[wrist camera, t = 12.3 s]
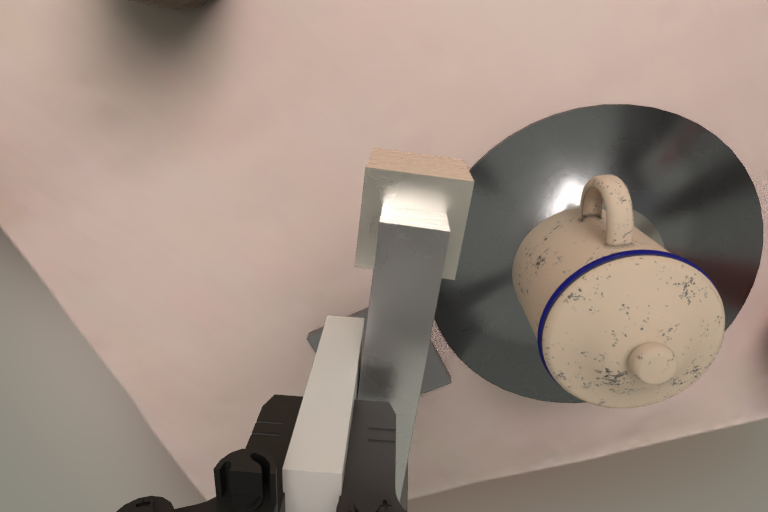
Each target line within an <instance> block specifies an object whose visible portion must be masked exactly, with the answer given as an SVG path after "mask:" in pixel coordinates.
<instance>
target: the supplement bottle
mask: <svg viewBox="0 0 768 512" xmlns="http://www.w3.org/2000/svg"><path fill="white" fill-rule="evenodd" d="M130 1H134V2H139V3H144V4H149V5H153V6H158V7H163V8H169V9H191V8H195V7H197V6H200V5H202V4H204V3H206V2H207V1H208V0H130Z"/></svg>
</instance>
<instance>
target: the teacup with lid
mask: <svg viewBox="0 0 768 512" xmlns="http://www.w3.org/2000/svg"><path fill="white" fill-rule="evenodd" d="M603 201H604V205H605V210H604V209H602V207H603ZM512 278H513V285H514V289H515V292H516V294H517V296H518V299H519V301H520V303H521V305H522V307H523V310H524V312H525V314H526V316H527V318H528V321H529V323H530V325H531V327H532V329H533V332H534V334H535V336H536V338H537V342H538V349H539V354H540V357H541V360H542V363H543V365H544V367H545V369H546V370H547V372H548V373H549V375H550V376H551V377H552V378H553V380H554V381H555V382H556V383H557V384H558V385H560V386H561V387H562V388H563V389H565V390H566V391H567V392H569V393H570V394H572V395H573V396H575V397H577V398H579V399H581V400H583V401H586V402H589V403H592V404H595V405H598V406H604V407H610V408H633V407H640V406H645V405H650V404H653V403H656V402H659V401H662V400H665V399H667V398H669V397H671V396H673V395H675V394H677V393H679V392H681V391H682V390H684V389H685V388H687V387H688V386H689V385H691V384H692V383H693V382H694V381H696V380H697V379H698V378H699V377H700V376H701V375H702V374H703V373H704V372H705V371H706V369H707V368H708V367H709V366H710V364H711V363H712V361H713V360H714V358H715V356H716V355H717V353H718V350H719V348H720V346H721V343H722V340H723V335H724V329H725V313H724V307H723V303H722V300H721V298H720V295H719V293H718V291H717V288H716V286H715V285H714V283H713V282H712V280H711V279H710V278H709V277H708V275H707V274H706V273H705V272H704V271H703V270H702V269H700V268H699V267H698V266H696V265H695V264H694V263H692V262H690V261H689V260H687V259H685V258H682V257H680V256H678V255H675V254H672V253H670V252H668V251H667V250H666V249H664V248H663V247H662V246H660V245H659V244H658V243H656V242H655V241H654V240H652V239H651V238H649V237H648V236H647V235H645V234H644V233H643V232H641V231H640V230H639V229H637V228H636V227H635V226H633V207H632V202H631V198H630V194H629V191H628V189H627V187H626V185H625V184H624V182H623V181H622V180H621V179H620V178H618V177H617V176H614V175H599V176H595V177H593V178H591V179H590V180H589V181H588V182H587V183H586V185H585V186H584V188H583V191H582V195H581V200H580V208H574V209H569V210H565V211H562V212H559V213H557V214H554V215H552V216H550V217H548V218H547V219H545V220H543V221H542V222H541V223H539V224H538V225H537V226H535V227H534V228H533V229H532V230H531V231H530V232H529V233H528V235H527V236H526V237H525V238H524V240H523V241H522V243H521V244H520V246H519V248H518V250H517V252H516V255H515V258H514V262H513V269H512Z"/></svg>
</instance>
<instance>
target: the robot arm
mask: <svg viewBox="0 0 768 512" xmlns="http://www.w3.org/2000/svg"><path fill="white" fill-rule="evenodd" d="M363 335H364V318H358V317H345V316H331V315H327V318H326V322H325V325H324V328H323V332H322V335H321V339H320V342H319V346H318V349H317V352H316V356H315V359H314V363H313V366H312V369H311V373H310V376H309V380H308V383H307V386H306V390H305V393H304V397H300V396H286V395H274V396H273V397H272V398H271V399H270V400H269V401H268V402H267V403H266V404H264V405H263V407H262V409H261V412H260V414H259V416H258V419H257V423H256V424H255V426H254V429H253V431H252V435H251V436H250V439H249V441H248V444H247V446H246V449H240V450H237V451H235V452H232V453H230V454H228V455H227V456H225V457H224V458H223V459H221V460H220V461H219V463H218V464H217V465H216V467H215V468H214V477H215V487H216V497H215V498H213V499H211V500H209V501H207V502H203V503H200V504H197V505H192V506H187V507H183V508H178V509H174V508H173V506H172V504H171V502H169V501H168V500H166V499H165V498H163V497H155V496H148V497H143V498H138V499H136V500H134V501H132V502H130V503H128V504H125V505H124V506H123V507H122V508H120V509H119V510H118V511H117V512H407V511H406V510H405V509H404V508H403V507H402V505H401V504H400V503H399V501H398V498H397V496H396V490H395V470H396V414H395V412H394V410H393V408H392V406H391V404H390V402H383V401H369V400H357V398H358V390H359V382H360V374H361V366H362V354H363Z"/></svg>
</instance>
